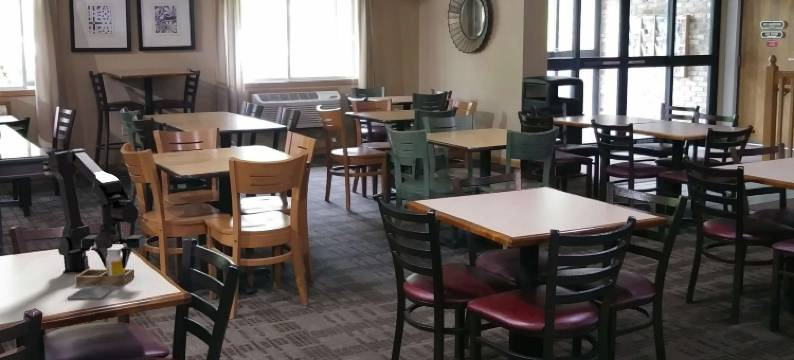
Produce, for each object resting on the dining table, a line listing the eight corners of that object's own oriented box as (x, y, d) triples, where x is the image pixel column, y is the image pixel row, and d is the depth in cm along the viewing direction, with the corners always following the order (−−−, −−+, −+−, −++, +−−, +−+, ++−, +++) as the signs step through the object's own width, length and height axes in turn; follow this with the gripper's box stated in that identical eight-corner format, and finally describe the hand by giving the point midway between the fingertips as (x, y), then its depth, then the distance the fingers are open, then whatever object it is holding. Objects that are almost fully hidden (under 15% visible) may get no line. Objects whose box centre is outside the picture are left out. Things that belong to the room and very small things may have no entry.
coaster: (68, 299, 253) (68, 297, 253) (83, 289, 263) (83, 287, 263) (101, 299, 252) (101, 297, 252) (115, 289, 262) (115, 287, 262)
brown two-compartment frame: (76, 285, 267) (75, 276, 267) (87, 277, 275) (87, 269, 275) (124, 285, 266) (123, 276, 265) (134, 277, 274) (133, 269, 273)
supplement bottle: (129, 277, 272) (126, 247, 270) (118, 282, 267) (115, 251, 265) (114, 276, 273) (112, 246, 272) (103, 280, 268) (101, 250, 267)
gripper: (70, 225, 260) (75, 275, 262) (130, 225, 258) (134, 275, 261) (86, 217, 271) (91, 265, 273) (144, 217, 269) (148, 265, 271)
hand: (115, 268), depth 269 cm, fingers closed on supplement bottle, 5 cm apart
